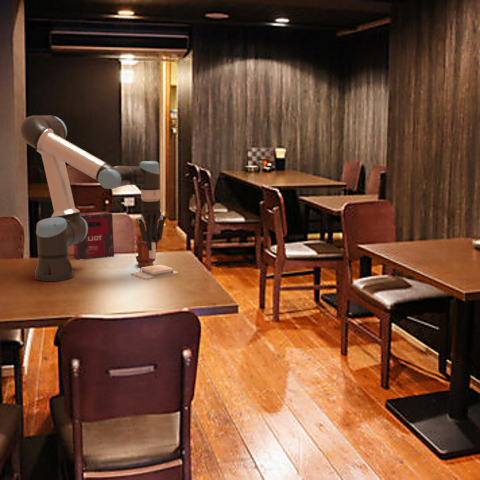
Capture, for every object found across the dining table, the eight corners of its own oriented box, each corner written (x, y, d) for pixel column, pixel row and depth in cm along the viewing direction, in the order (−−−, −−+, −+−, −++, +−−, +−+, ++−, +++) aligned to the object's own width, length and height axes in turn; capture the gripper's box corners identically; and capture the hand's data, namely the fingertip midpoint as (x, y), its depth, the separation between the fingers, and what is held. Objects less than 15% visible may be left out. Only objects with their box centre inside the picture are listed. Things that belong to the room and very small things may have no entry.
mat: (131, 274, 270) (131, 273, 270) (164, 269, 280) (164, 267, 280) (145, 279, 262) (144, 278, 261) (179, 273, 271) (179, 272, 271)
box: (78, 260, 300) (75, 216, 296) (74, 256, 308) (72, 213, 304) (114, 256, 307) (112, 213, 303) (109, 253, 314) (107, 211, 311)
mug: (156, 267, 283) (155, 233, 280) (137, 268, 281) (136, 233, 278) (152, 260, 297) (151, 227, 294) (134, 261, 295) (132, 228, 292)
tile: (141, 267, 271) (160, 264, 277) (141, 272, 272) (160, 269, 277) (154, 271, 264) (173, 268, 269) (154, 276, 264) (173, 273, 269)
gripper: (141, 202, 258) (143, 261, 262) (169, 199, 266) (171, 257, 270) (131, 200, 264) (133, 258, 268) (159, 198, 271) (161, 254, 276)
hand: (152, 257), depth 269 cm, fingers closed
